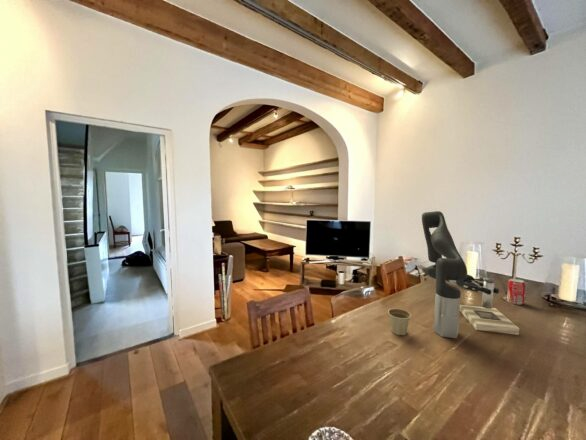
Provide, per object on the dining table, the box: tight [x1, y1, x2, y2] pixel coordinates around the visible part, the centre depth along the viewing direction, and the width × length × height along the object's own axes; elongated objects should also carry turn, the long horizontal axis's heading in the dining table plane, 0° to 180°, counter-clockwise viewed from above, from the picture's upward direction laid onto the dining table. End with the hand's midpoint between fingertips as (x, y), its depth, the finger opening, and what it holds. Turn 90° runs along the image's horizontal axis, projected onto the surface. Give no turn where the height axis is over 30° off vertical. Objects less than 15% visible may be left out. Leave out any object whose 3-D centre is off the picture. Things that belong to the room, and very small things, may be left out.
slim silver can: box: [481, 276, 496, 309], centre depth 118 cm, size 5×5×14 cm
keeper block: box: [459, 304, 520, 336], centre depth 119 cm, size 20×16×3 cm
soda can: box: [506, 278, 526, 306], centre depth 140 cm, size 7×7×13 cm
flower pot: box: [387, 308, 412, 336], centre depth 110 cm, size 9×9×9 cm
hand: (494, 292), depth 115 cm, fingers closed on slim silver can, 4 cm apart
